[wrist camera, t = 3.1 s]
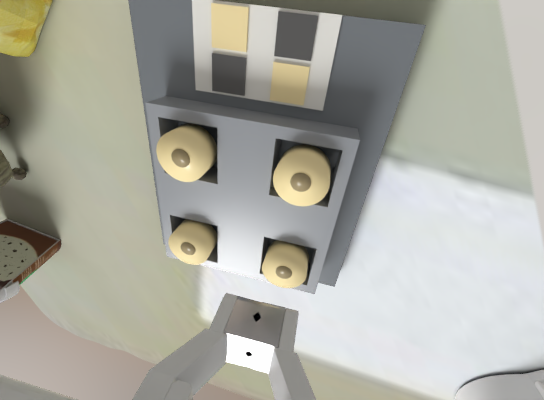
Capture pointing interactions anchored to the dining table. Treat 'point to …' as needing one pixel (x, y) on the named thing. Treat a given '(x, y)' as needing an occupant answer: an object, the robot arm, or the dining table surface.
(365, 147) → the board
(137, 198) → the dining table surface
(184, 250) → the button
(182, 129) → the button
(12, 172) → the tabletop clock
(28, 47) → the chocolate bunny
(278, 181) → the button
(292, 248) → the button
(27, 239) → the food container
